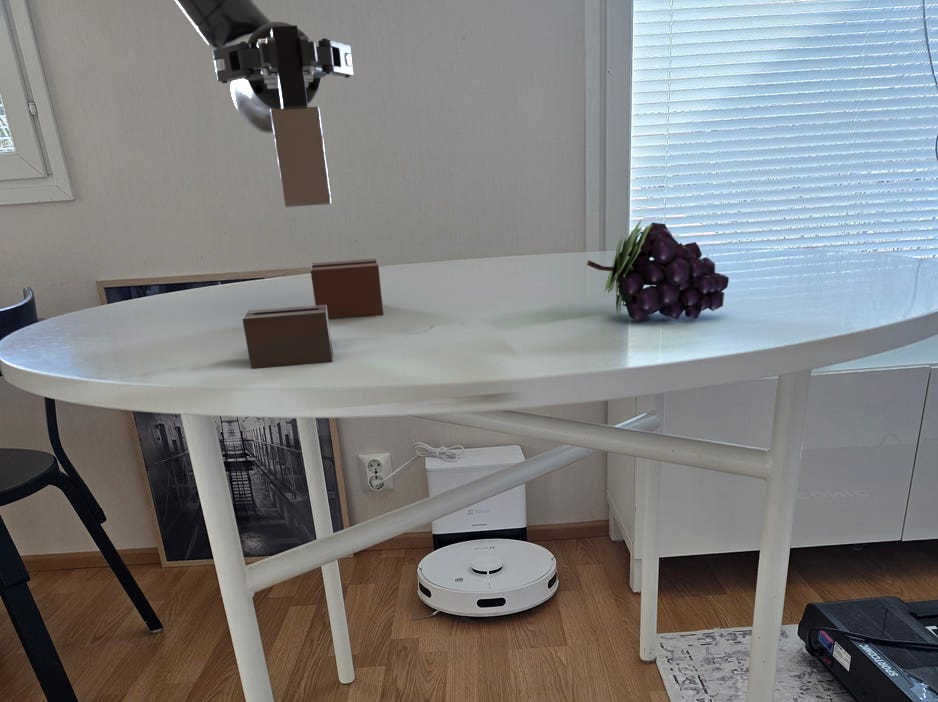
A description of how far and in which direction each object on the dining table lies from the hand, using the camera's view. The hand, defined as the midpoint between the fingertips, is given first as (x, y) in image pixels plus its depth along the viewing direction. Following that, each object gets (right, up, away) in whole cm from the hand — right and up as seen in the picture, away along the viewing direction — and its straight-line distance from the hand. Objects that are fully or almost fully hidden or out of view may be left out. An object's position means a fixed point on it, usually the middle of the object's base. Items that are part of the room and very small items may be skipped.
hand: (289, 51), depth 74 cm
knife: (0, -9, +8) cm, 12 cm away
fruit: (+35, -16, +18) cm, 43 cm away
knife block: (-1, -26, +5) cm, 26 cm away
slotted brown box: (+2, -15, +24) cm, 28 cm away
